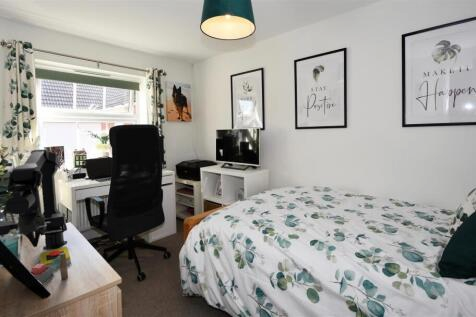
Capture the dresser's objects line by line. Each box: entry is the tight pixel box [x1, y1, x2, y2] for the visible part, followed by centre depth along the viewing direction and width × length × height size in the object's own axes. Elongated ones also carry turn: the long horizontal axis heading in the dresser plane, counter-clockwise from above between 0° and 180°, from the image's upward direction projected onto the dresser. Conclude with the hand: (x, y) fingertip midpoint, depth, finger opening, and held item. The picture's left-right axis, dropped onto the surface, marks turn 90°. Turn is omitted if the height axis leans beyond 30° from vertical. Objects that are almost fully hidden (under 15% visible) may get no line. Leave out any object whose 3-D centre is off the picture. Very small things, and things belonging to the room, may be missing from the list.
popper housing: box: [30, 266, 55, 285], centre depth 89 cm, size 5×5×4 cm
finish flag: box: [52, 253, 69, 281], centre depth 88 cm, size 5×2×9 cm, turn 176°
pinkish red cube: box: [31, 263, 46, 275], centre depth 89 cm, size 4×4×4 cm
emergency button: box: [39, 246, 73, 272], centre depth 102 cm, size 9×4×15 cm
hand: (35, 246), depth 92 cm, fingers closed
